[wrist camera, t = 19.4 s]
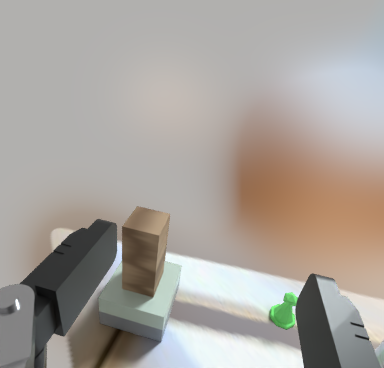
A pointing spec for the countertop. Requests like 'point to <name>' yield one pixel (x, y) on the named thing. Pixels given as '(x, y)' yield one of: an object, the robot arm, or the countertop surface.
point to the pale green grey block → (139, 304)
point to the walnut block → (144, 250)
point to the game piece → (284, 312)
